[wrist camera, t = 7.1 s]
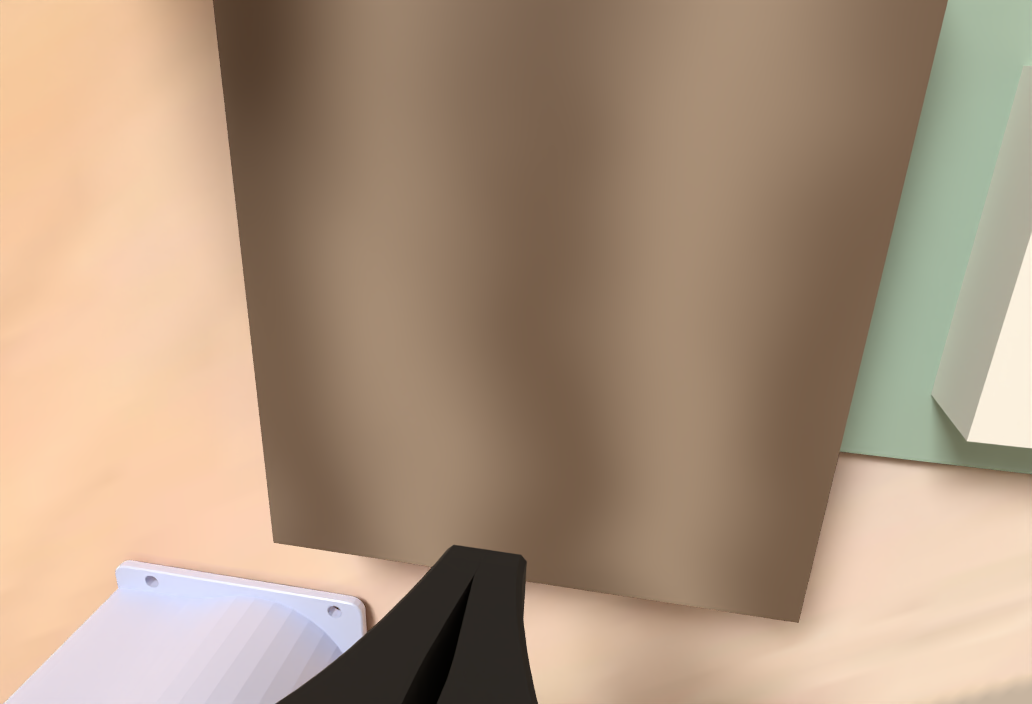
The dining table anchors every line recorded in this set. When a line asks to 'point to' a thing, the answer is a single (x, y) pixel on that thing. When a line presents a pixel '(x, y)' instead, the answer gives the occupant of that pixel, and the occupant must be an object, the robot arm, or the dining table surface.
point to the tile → (996, 302)
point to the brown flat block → (568, 274)
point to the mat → (940, 241)
